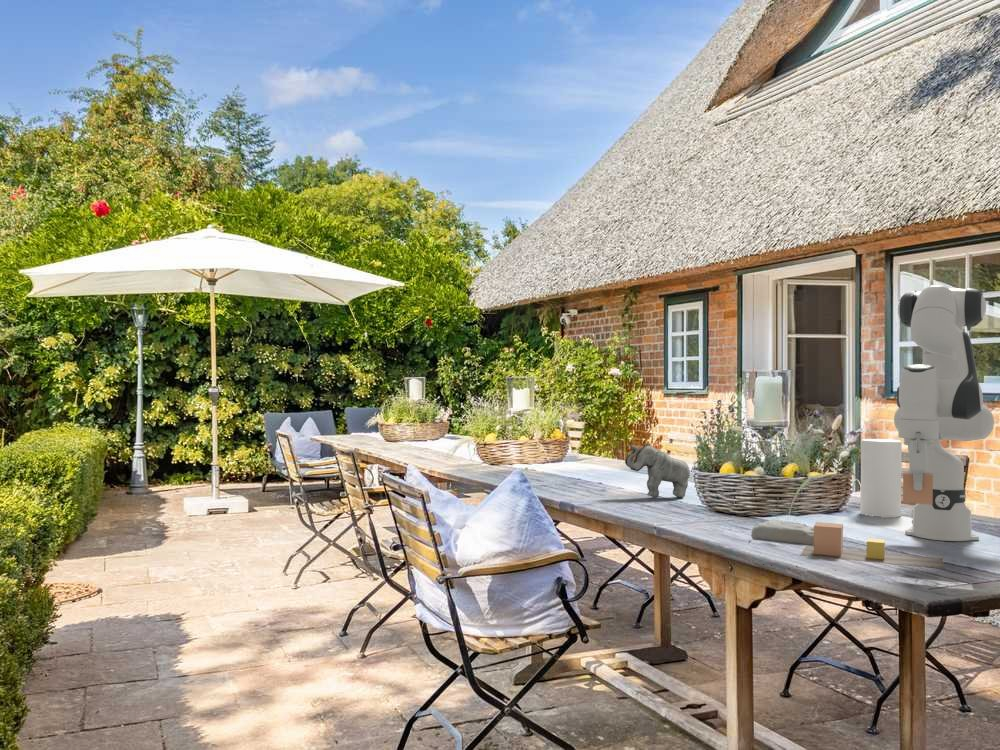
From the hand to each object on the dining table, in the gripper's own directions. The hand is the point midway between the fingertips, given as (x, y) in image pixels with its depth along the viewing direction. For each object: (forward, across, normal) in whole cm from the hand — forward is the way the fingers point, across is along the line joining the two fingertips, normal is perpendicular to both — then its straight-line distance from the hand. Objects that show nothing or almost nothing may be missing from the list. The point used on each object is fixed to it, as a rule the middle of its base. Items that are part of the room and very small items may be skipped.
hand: (917, 488), depth 208 cm
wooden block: (+3, 0, 0) cm, 3 cm away
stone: (+20, +16, +32) cm, 40 cm away
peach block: (+18, 0, +20) cm, 27 cm away
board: (+19, 0, +10) cm, 21 cm away
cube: (+18, 0, +9) cm, 20 cm away
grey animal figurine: (+20, +84, +88) cm, 123 cm away
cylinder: (+20, +84, +11) cm, 87 cm away
